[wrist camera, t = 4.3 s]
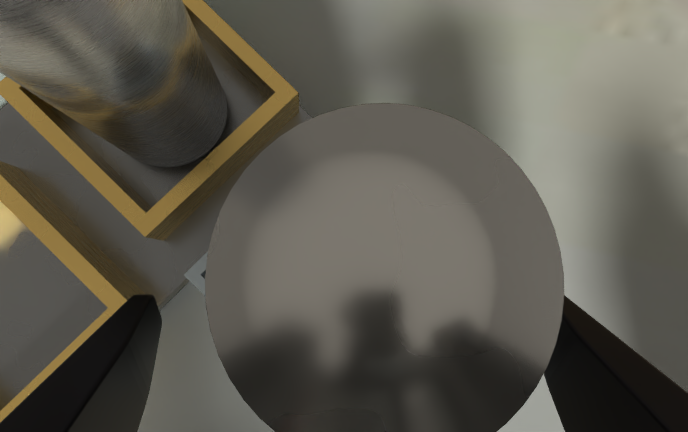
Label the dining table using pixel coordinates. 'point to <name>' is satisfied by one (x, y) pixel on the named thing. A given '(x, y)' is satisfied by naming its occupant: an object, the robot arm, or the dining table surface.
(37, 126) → the gold holder tray
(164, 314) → the dining table surface
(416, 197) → the billet
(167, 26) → the billet twin
